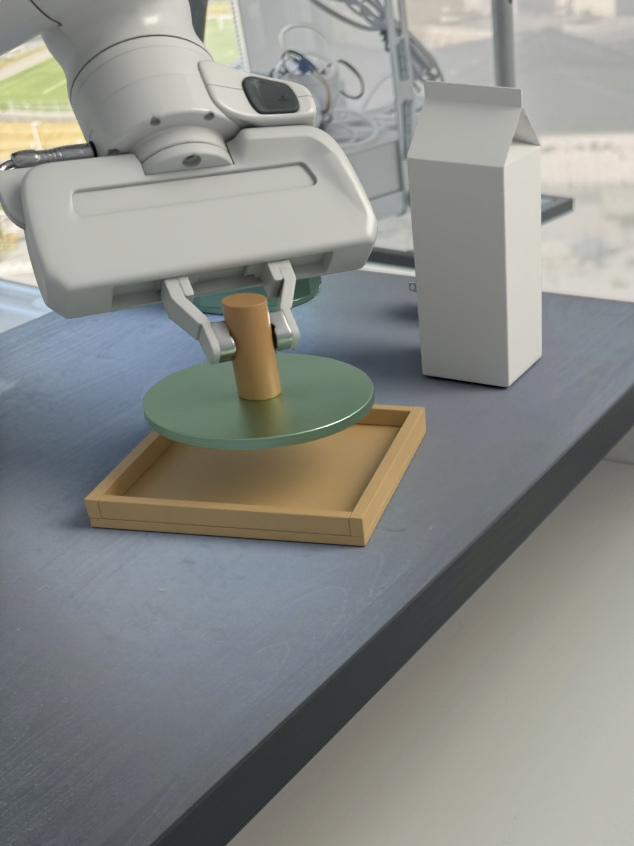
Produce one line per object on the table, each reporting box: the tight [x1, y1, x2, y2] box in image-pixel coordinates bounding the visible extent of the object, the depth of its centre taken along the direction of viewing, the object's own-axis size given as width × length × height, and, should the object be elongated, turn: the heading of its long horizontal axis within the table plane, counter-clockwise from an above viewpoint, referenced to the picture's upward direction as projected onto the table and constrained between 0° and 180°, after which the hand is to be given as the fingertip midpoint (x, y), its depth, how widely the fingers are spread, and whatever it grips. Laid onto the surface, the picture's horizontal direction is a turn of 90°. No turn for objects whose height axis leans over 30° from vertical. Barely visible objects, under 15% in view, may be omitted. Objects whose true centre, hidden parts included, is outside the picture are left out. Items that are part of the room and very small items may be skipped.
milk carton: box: [406, 79, 543, 388], centre depth 84 cm, size 7×7×19 cm
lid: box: [141, 293, 376, 450], centre depth 70 cm, size 14×14×7 cm
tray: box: [83, 403, 427, 547], centre depth 74 cm, size 17×17×2 cm
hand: (256, 351), depth 69 cm, fingers closed on lid, 2 cm apart
